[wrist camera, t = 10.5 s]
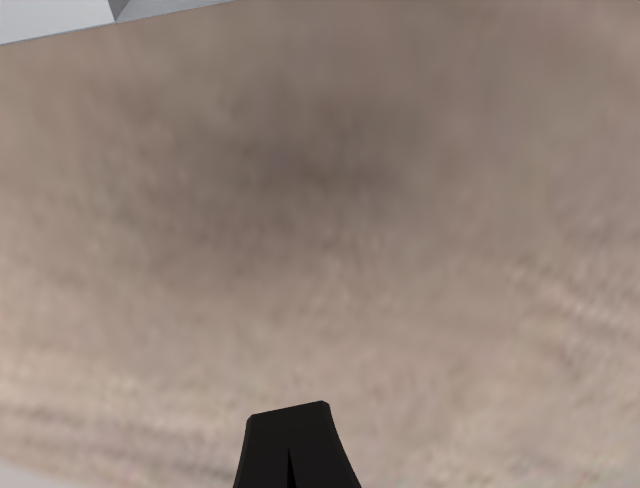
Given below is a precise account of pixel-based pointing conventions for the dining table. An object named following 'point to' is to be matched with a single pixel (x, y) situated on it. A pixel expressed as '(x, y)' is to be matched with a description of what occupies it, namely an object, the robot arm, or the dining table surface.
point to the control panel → (78, 15)
